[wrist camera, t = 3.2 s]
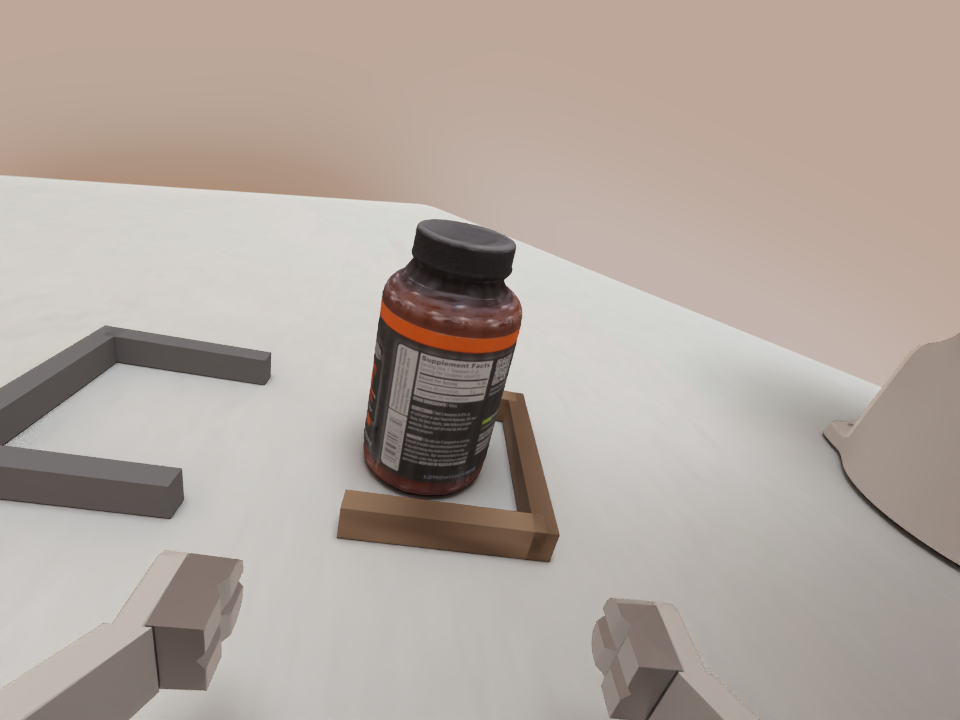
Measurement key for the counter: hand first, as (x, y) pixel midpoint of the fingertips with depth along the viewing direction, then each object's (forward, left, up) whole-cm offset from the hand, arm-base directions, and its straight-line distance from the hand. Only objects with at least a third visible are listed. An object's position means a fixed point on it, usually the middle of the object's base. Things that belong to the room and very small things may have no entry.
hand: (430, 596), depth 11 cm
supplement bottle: (-4, -11, -6) cm, 13 cm away
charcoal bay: (+8, -16, -6) cm, 19 cm away
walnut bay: (-6, -11, -6) cm, 13 cm away
